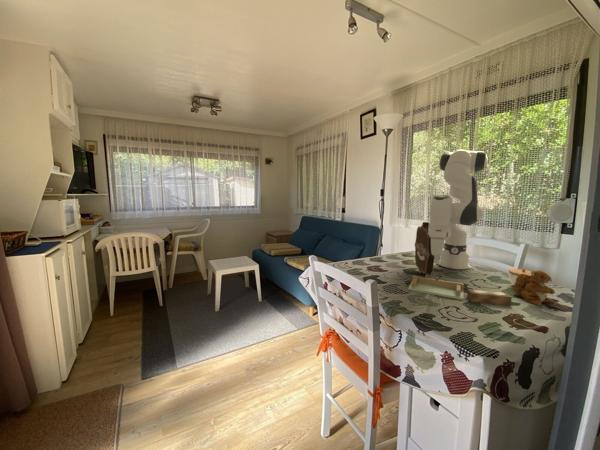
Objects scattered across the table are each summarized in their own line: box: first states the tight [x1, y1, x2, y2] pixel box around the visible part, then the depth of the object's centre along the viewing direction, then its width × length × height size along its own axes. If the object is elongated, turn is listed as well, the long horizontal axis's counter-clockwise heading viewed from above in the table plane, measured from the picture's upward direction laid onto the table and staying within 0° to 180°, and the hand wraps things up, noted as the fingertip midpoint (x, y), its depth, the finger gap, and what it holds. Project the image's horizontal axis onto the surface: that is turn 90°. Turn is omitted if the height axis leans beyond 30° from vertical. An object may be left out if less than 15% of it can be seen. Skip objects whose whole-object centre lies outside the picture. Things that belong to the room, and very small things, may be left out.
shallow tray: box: [407, 274, 465, 301], centre depth 117 cm, size 11×22×5 cm, turn 57°
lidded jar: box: [508, 268, 532, 286], centre depth 121 cm, size 11×11×9 cm
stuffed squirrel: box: [511, 270, 555, 306], centre depth 108 cm, size 10×14×13 cm
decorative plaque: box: [414, 221, 435, 277], centre depth 137 cm, size 30×3×30 cm, turn 168°
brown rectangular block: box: [466, 288, 513, 306], centre depth 105 cm, size 14×5×4 cm, turn 73°
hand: (437, 261), depth 114 cm, fingers open, 5 cm apart
